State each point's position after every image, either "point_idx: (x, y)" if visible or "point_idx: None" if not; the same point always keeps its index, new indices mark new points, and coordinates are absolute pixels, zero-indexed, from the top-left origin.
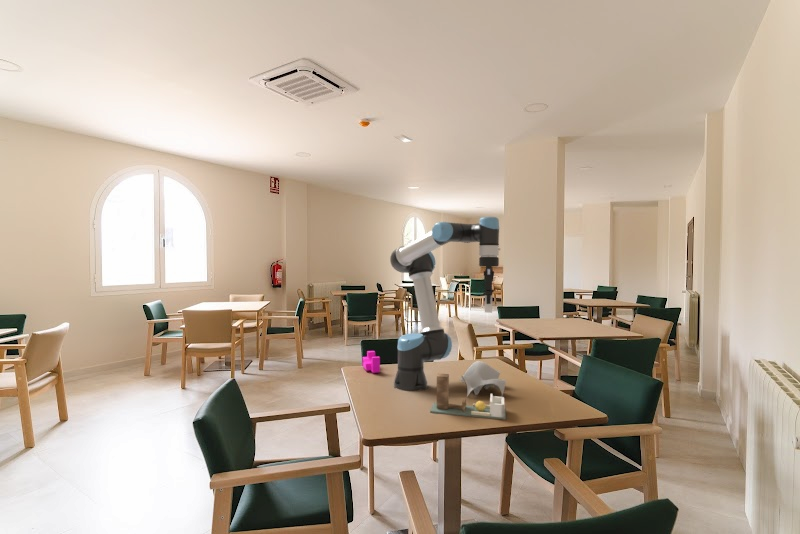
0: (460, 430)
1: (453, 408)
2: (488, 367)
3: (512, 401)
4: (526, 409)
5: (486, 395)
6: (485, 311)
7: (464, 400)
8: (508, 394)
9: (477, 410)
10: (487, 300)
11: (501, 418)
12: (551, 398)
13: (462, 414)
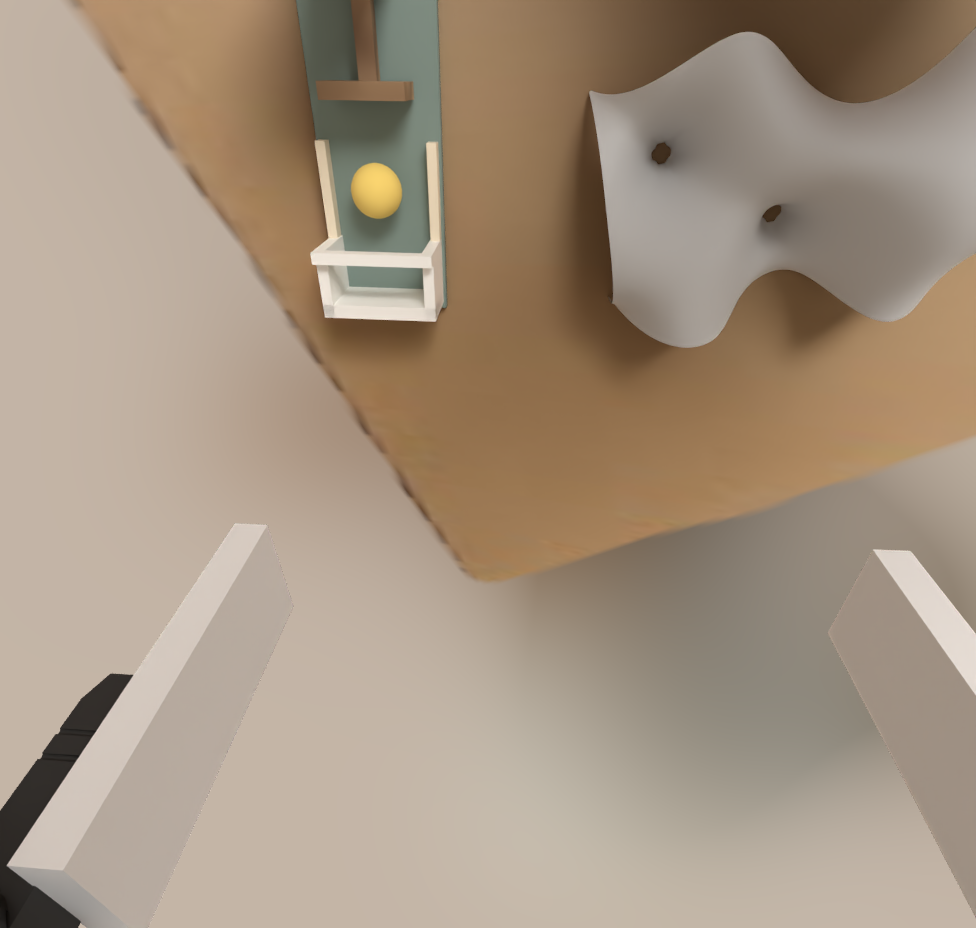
0: (136, 91)
1: None
2: (912, 253)
3: (569, 342)
4: (482, 388)
5: None
6: (229, 543)
7: (355, 94)
8: None
9: None
10: (60, 753)
11: None
12: (628, 488)
13: (309, 85)
